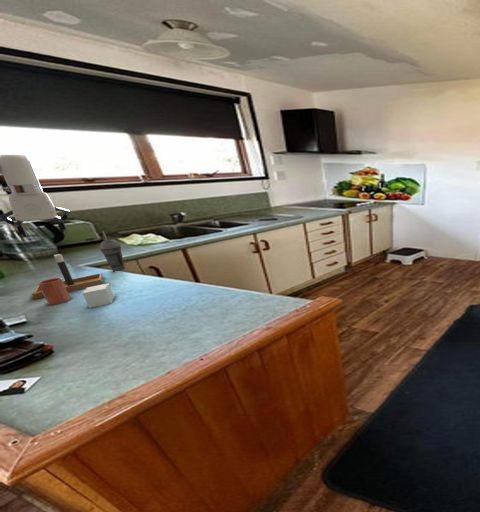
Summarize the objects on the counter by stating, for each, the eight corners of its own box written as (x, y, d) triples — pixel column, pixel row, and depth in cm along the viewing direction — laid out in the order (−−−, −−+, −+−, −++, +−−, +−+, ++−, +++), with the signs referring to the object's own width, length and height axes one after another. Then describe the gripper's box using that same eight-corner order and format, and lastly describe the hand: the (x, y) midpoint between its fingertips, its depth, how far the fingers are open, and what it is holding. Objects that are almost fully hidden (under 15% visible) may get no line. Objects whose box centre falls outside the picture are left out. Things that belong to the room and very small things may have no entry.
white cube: (114, 297, 106) (109, 283, 104) (111, 303, 101) (105, 288, 99) (93, 301, 103) (87, 287, 101) (88, 308, 98) (82, 293, 96)
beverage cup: (114, 273, 130) (98, 233, 123) (105, 271, 132) (89, 232, 125) (132, 268, 136) (118, 229, 129) (123, 266, 138) (109, 228, 132)
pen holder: (47, 306, 100) (36, 285, 97) (49, 301, 104) (39, 280, 101) (69, 300, 104) (60, 280, 101) (71, 296, 108) (62, 276, 105)
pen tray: (34, 299, 106) (31, 294, 105) (39, 291, 113) (36, 286, 112) (102, 284, 118) (100, 279, 117) (103, 277, 125) (101, 273, 124)
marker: (67, 287, 114) (53, 256, 109) (68, 285, 115) (53, 254, 111) (74, 285, 115) (60, 254, 111) (75, 284, 117) (61, 253, 112)
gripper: (-16, 192, 94) (6, 239, 99) (59, 188, 105) (76, 231, 110) (-9, 190, 99) (12, 236, 104) (62, 187, 110) (77, 229, 115)
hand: (45, 233), depth 107 cm, fingers open, 9 cm apart
